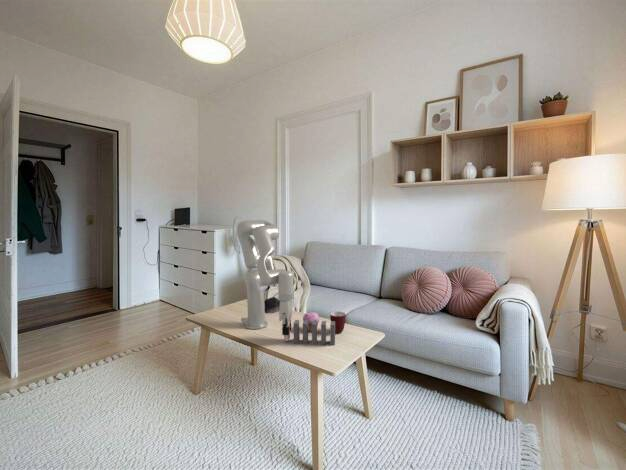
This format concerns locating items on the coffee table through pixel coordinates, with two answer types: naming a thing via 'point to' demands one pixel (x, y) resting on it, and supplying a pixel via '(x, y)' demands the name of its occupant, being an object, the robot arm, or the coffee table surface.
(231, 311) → the coffee table surface
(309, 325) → the cupcake
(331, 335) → the domino
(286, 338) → the rose domino
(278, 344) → the coffee table surface
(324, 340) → the domino
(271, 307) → the crystal cluster
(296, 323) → the domino
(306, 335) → the domino
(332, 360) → the coffee table surface
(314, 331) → the domino
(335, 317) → the mug
